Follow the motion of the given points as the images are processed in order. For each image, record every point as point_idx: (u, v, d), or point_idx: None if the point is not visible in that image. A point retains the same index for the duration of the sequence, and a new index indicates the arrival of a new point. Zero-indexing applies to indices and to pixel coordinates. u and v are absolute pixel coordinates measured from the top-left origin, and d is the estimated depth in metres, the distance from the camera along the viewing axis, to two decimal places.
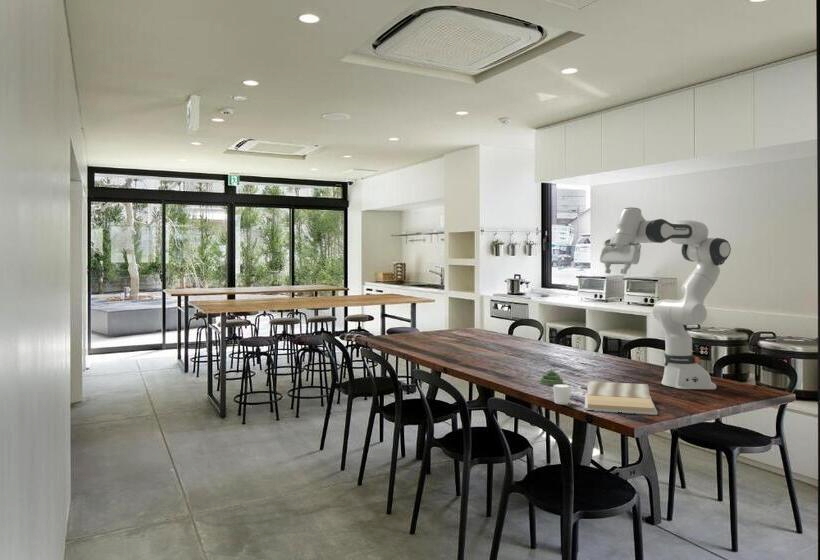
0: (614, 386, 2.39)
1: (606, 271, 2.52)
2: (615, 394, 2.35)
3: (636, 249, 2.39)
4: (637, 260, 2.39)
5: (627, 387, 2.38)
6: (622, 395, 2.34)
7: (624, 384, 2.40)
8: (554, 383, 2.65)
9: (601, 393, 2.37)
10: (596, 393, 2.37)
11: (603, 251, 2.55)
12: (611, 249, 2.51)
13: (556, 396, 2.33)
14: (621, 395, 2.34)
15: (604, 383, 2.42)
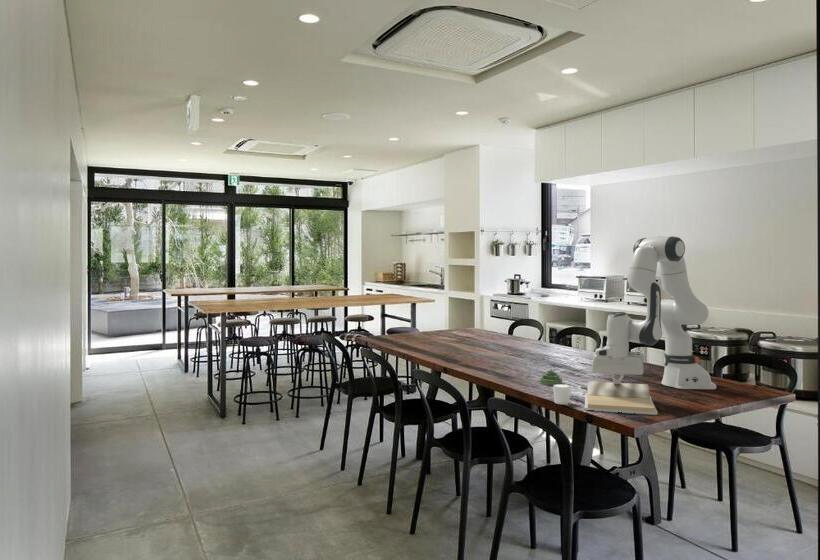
0: (614, 386, 2.39)
1: (615, 383, 2.39)
2: (615, 394, 2.35)
3: (641, 360, 2.36)
4: None
5: (627, 387, 2.38)
6: (622, 395, 2.34)
7: (624, 384, 2.40)
8: (554, 383, 2.65)
9: (601, 393, 2.37)
10: (596, 393, 2.37)
11: (596, 361, 2.40)
12: (607, 359, 2.39)
13: (556, 396, 2.33)
14: (621, 395, 2.34)
15: (604, 383, 2.42)
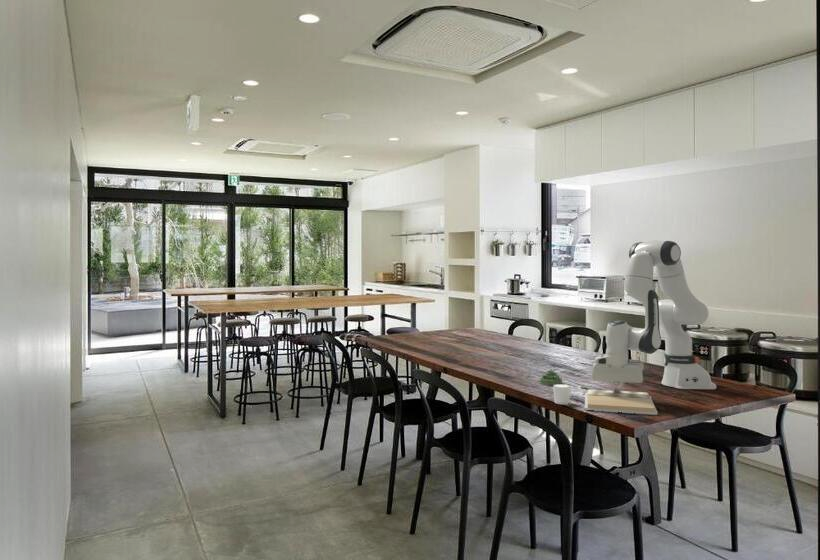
0: (614, 392, 2.40)
1: (615, 391, 2.40)
2: (615, 395, 2.36)
3: (641, 368, 2.37)
4: None
5: (627, 393, 2.39)
6: (622, 395, 2.34)
7: (624, 391, 2.41)
8: (553, 383, 2.65)
9: (601, 394, 2.37)
10: (596, 394, 2.38)
11: (596, 369, 2.41)
12: (606, 368, 2.40)
13: (556, 396, 2.33)
14: (621, 395, 2.34)
15: (604, 390, 2.43)
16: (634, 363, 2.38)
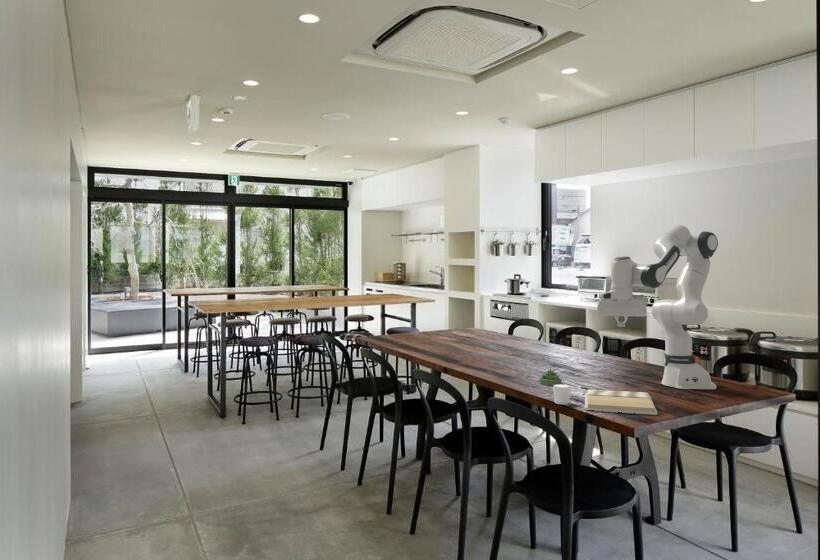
0: (614, 392, 2.40)
1: (619, 325, 2.47)
2: (615, 395, 2.36)
3: (645, 302, 2.44)
4: None
5: (627, 393, 2.39)
6: (622, 395, 2.34)
7: (624, 391, 2.41)
8: (553, 383, 2.66)
9: (601, 394, 2.37)
10: (596, 394, 2.38)
11: (601, 305, 2.48)
12: (611, 302, 2.47)
13: (556, 396, 2.33)
14: (621, 395, 2.34)
15: (604, 390, 2.43)
16: (638, 297, 2.45)
